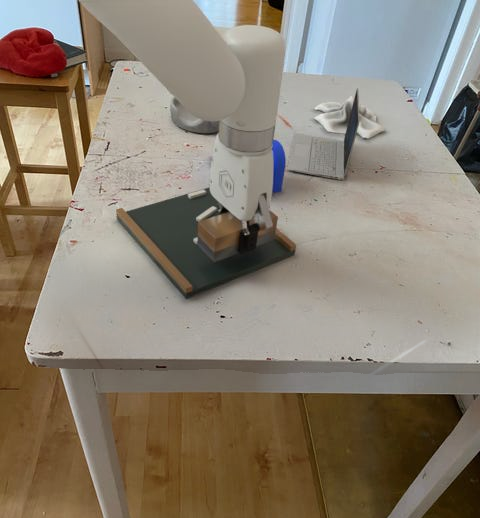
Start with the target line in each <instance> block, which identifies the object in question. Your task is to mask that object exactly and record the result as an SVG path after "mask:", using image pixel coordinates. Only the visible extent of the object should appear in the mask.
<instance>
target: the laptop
mask: <svg viewBox="0 0 480 518" xmlns="http://www.w3.org/2000/svg"><path fill="white" fill-rule="evenodd" d="M359 95H360V94H359V88H356V91H355V95H354V102H353V106H352V110H351V114H350V118H349V122H348V126H347V130H346V134H344V138H343V140H341V139H333V138H327V137H321V136H313V135H307V134H302V133H301V134H300V133H294V134H293V137H292V142H291V148H290V152H289V158H288V164H287V171H292V172H296V173H302V174H308V175H312V176H313V175H314V176H318V177H323V178H329V179H334V180H342V181H344V180H345V177H346V175H347V171H348V167H349V163H350V159H351V155H352V152H353V149H354V144H355V141H356V138H357V134H358V133H357V130H358V126H359V122H360V118H359V104H360V99H359V97H360V96H359Z"/></svg>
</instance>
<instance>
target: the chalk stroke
mask: <svg viewBox="0 0 480 518" xmlns="http://www.w3.org/2000/svg"><path fill="white" fill-rule="evenodd" d="M215 211H217V208H216V207H214V206H212V207H211V208H209V209H208V210H206V211H205V212H203V213H202V214H201V215H199V216H198V217H196V220H197V221H202V220H204V219H206V218H207V217H208V216H210V215H211V214H213V213H214V212H215Z"/></svg>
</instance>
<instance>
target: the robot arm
mask: <svg viewBox="0 0 480 518" xmlns="http://www.w3.org/2000/svg"><path fill="white" fill-rule="evenodd" d="M77 1H78V2H79V3H80V4H81V5H82V6H83V8H85V9H86V10H87V11H88V12H89V14H90V15H92V16H93V17H94V18H95V19H96V21H98V22H99V23H100V24H101V25H102V26H104V27H105V28H106V29H107V30H109V32H111V34H113V36H115V37H116V38H117V39H118V40H119V41H120V42H121V44H123V45H124V46H125V47H126V48H127V50H129V51H130V52H131V53H132V55H133V56H134V57H135V58H136V59H137V60H138V61H139V62H140V63H141V64H142V65H143V66H144V67H145V68H146V69H147V70H148V71H149V72H150V74H152V75H153V76H154V78H155V79H157V80H158V82H159V83H160V84H161V85H162V86H163V87H164V88H165V89H166V90H167V91H168V92H169V93H170V94H171V95H172V96H173V97H175V98H176V99H177V100H178V101H179V102H180V103H181V104H182V105H183V106H184V108H185V109H186V110H187V111H188V112H189V113H191V114H192V115H193V116H195V117H197V118H199V119H201V120H205V121H219V131H218V132H217V134H216V137H215V141H214V145H213V148H212V155H211V162H210V173H209V187H210V193H211V194H212V196H213V197H214V198H215V199H216V200H217V201H218V204H217V210H218V211H219V212H220V213H219V215H221V214H224V213H227V212H231V213H232V214H233V215H234V216H235V217H237V218H238V219H239V220H241V221H242V228H243V231H242V232H240V237H239V247H238V252H239V253H240V254H244V253H246V252H249V251H251V250H254V249H255V248H256V244H257V237H258V231H261V230H265V229H268V228H271V227H272V226H273V223H272V220H271V216H270V213H269V210H270V208H271V204H272V195H273V193H272V188H273V150H272V146H273V140H275V130H276V124H277V117H278V109H279V103H280V96H281V95H280V94H281V86H282V79H283V72H284V65H285V57H286V41H285V39H284V37H283V35H282V34H281V33H280V32H278V31H277V30H275V29H274V28H271V27H267V26H263V25H256V24H242V25H237V26H234V27H225V26H224V27H223V26H215V25H213V23H212V22H211V21H210V20H209V18H208V17H207V15H206V14H205V13H204V12H203V11H202V10H201V8H200V7H199V6H198V4H197V3H196V1H195V0H77ZM252 218H254V224H252V225H249V220H251V219H252Z"/></svg>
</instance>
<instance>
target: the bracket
mask: <svg viewBox="0 0 480 518" xmlns="http://www.w3.org/2000/svg"><path fill="white" fill-rule="evenodd" d="M272 150H273V188H272V194H274V193H279V192H282V188H283V182H284V177H285V171H286V162H287V161H286V153H285V150H284V146H283V145H282V144H281V142H279V140H277V139H273V146H272Z"/></svg>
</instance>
